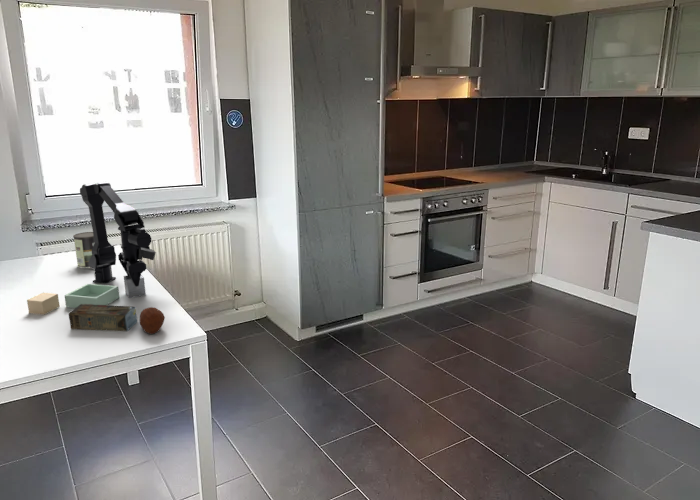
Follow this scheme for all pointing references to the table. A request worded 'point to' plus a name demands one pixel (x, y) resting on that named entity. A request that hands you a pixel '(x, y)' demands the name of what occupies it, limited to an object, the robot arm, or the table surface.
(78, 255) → the coffee can
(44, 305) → the tan rectangular block
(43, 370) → the table surface
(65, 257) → the table surface
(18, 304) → the table surface
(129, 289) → the tin
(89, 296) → the tote
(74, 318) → the beverage carton
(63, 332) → the table surface
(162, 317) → the potato
